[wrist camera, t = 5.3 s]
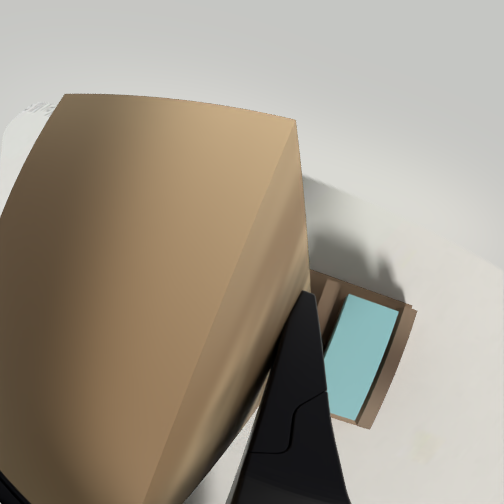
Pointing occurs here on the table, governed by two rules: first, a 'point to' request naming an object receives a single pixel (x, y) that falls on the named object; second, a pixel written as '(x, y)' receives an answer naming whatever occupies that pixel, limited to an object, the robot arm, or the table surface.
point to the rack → (328, 307)
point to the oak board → (143, 293)
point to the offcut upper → (356, 353)
